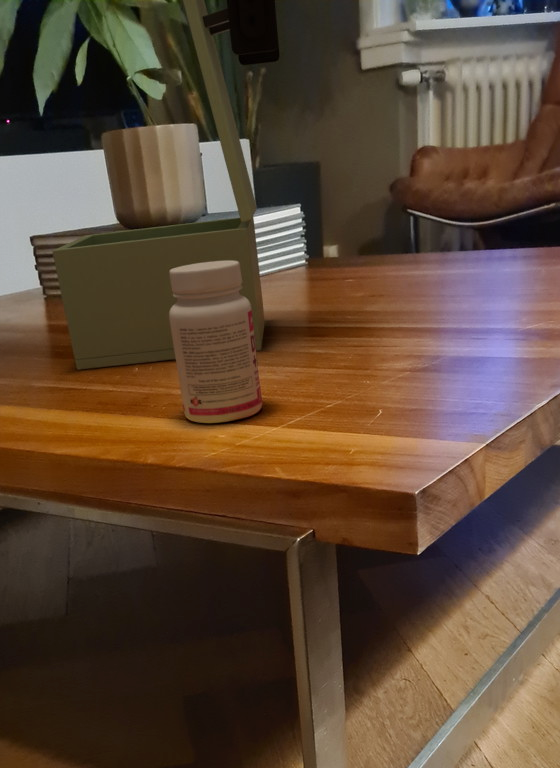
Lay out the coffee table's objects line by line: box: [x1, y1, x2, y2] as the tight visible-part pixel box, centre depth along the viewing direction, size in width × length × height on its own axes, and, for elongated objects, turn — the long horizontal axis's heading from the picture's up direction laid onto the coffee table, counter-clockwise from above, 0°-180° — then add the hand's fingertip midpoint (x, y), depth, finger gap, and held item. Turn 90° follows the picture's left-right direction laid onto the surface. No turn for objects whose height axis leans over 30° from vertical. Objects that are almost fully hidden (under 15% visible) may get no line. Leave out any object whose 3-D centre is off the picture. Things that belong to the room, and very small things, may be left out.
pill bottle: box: [169, 261, 263, 424], centre depth 53 cm, size 5×5×8 cm
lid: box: [182, 0, 258, 222], centre depth 69 cm, size 15×13×5 cm
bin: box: [51, 216, 266, 371], centre depth 75 cm, size 15×13×9 cm
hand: (257, 58), depth 67 cm, fingers open, 9 cm apart
